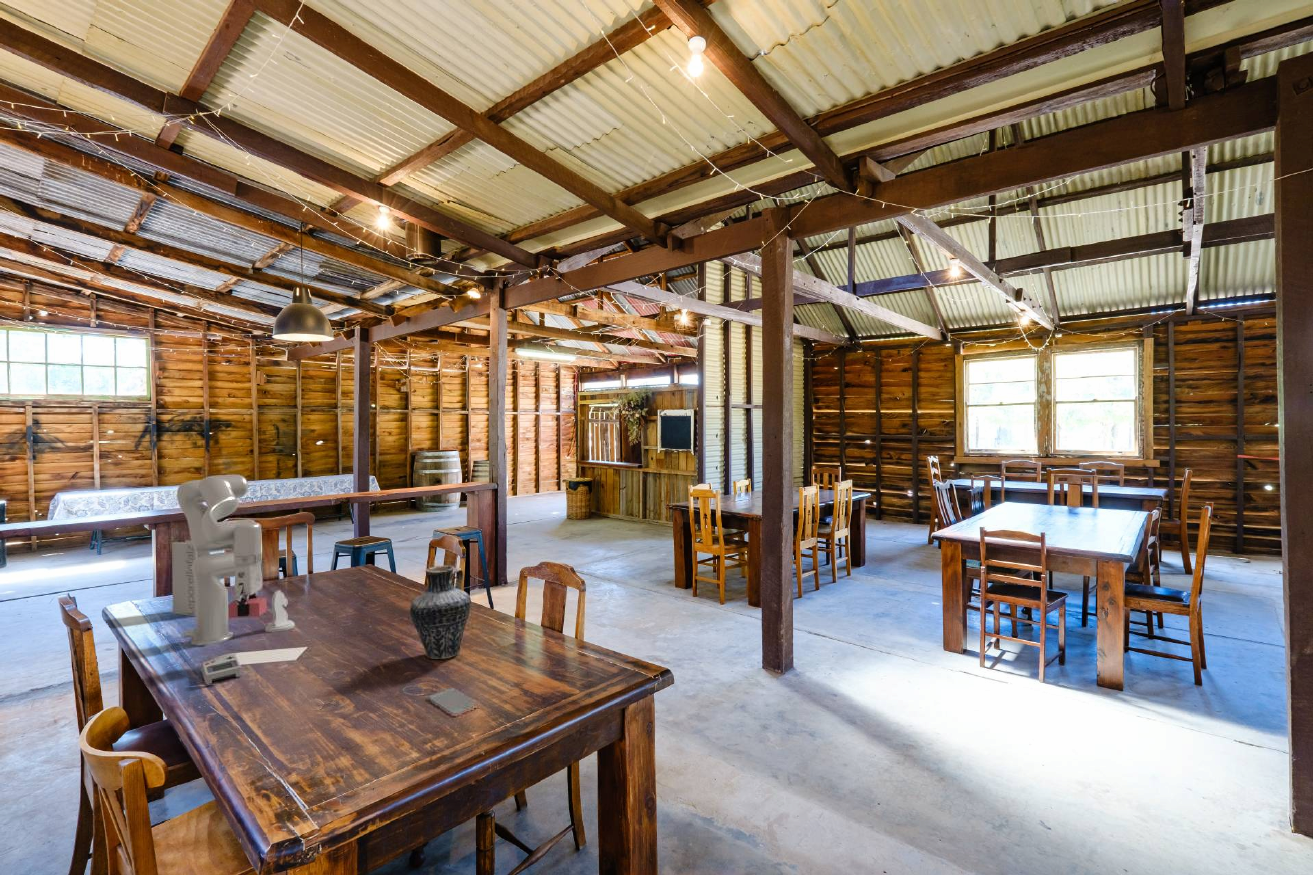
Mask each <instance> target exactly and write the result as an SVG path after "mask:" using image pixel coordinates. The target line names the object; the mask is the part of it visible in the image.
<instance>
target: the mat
mask: <svg viewBox="0 0 1313 875" xmlns="http://www.w3.org/2000/svg"><path fill="white" fill-rule="evenodd" d="M307 648H308V646H305V647H291V648H278V649H267V650H256V651H243V652H241V651H240V652H236V653H235V655H236V657H237V659H238V661H239V663H240V665H241V666H242V665H253V664H255V665H256V664H265V663H276V662H287V661H296V660H297V659H298V658H299V657H301V655H302V654H303V653H304V652H305V650H307Z"/></svg>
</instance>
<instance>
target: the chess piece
mask: <svg viewBox="0 0 1313 875" xmlns="http://www.w3.org/2000/svg"><path fill="white" fill-rule="evenodd" d="M288 604H289V602H288V598H286V596H285V593H284V592H282V591H281V589H280V590H279V589H277V590H275V591H274V593H273V594H272V597H271V610H272V611H271V612H272V614H273V615H272V616H273V617H272V618H273V619H272V622H269V623H268V624H267V625H266V626H265V628H264V631H265V632H267V633H279V632H283V631H284V630H285V631H289V630H291V629H293V628H295V626H296V624H295V622H294V621H293V620H290V619H288V618H289V617H288V616H289V615H288V612H287V610H285V608H284V607H287V605H288ZM285 631H284V632H285Z"/></svg>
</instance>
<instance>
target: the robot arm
mask: <svg viewBox="0 0 1313 875" xmlns="http://www.w3.org/2000/svg"><path fill="white" fill-rule="evenodd" d="M248 490H249V484H248V481H247V478H245V477H244V476H243V475H240V474H222V475H218V474H217V475H210V476H206V477H204V478H202V479H197V480H190V481H185V482H183V483H181V484H180V485H179V486H178V488H177V490H176V494H177V495H176V497H177V498H176V499H177V503H178V505H179V507H180V510H181V512H182V513H183V514H184V516H185V519H186V521H187V524H188V530H189V535H190V539H191V540H190V541H192V544H193V548H194V550H195V551H196V552H199V553H207V552H210V555H205V556H201V557H199V558H197V559H196V560H195V561H194V562H193V564H192V572H193V577H194V582H195V593H196V616H195V629H192V630H191V629H188V630H184V631H183V637H184V638H192V639H190V644H191V646H195V645H196V647H197V646H198V647H200V646H202V647H203V646H209V645H214V644H219V643H222V642H227V641H229V640H231V639H233V637H234V632H233V631H229V618H228V605H229V590H228V588H227V586H225V585H224V584H223V583H222V582H221V581H220V580H223V579H227V578H234V594H235V596H234V598H235V600H237V606H238V616H248V615H249V604H248V599H253V598H259V591H260V590H261V589H262V588H263V573H262V525H261V524H260V523H259V522H256V521H255V520H254V519H248V518H246V519H237V520H227V521H226V520H225V521H219V520H222V519H224V518H225V517H228V516H230V515H231V514H233V513H234V512H235V511H236V510H238V507H239V500H238V499H239V498H242V497H245V496H246V494H247V493H248ZM204 503H205V504H204ZM218 521H219V522H218ZM220 551H222V552H220ZM223 551H226V552H223ZM213 552H218V553H213Z"/></svg>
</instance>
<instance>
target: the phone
mask: <svg viewBox="0 0 1313 875" xmlns="http://www.w3.org/2000/svg"><path fill="white" fill-rule="evenodd" d="M427 699H428V700H430V701H432V702H433V703H434V704H436V705H438V706H440V707H441V708H443V709H444V710H447V711H448V712H451V714H459V713H460V712H463V711H465V710H468V708H473V707H472V706H475V705H474V704H476V703H473V702H469V701H476V700H475V699H473V698H472V697H469V696H468V695H467V694H465V693H463V692H461V691H459V690H458V689H456V688H454V687H449V688H447V689H444V690H441V691H439V692H436V693H433V694H430V695H428V696H427V698H426V700H427ZM470 699H471V700H470ZM472 699H473V700H472ZM428 700H427V701H428ZM430 701H429V702H430ZM433 703H432V704H433ZM434 704H433V705H434ZM472 704H473V705H472ZM436 705H435V706H436ZM441 708H440V709H441ZM444 710H443V711H444Z"/></svg>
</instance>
